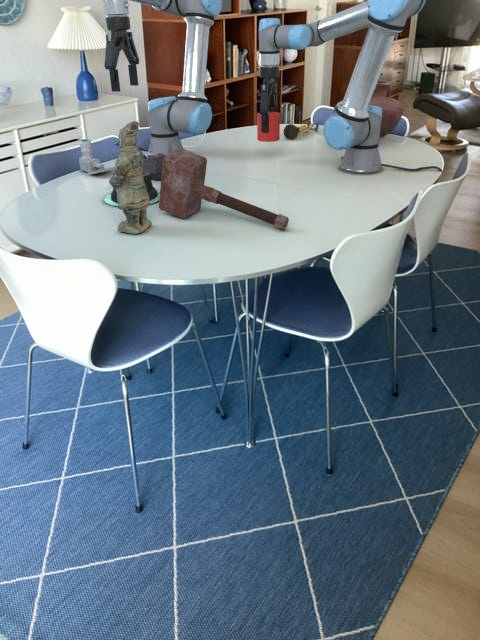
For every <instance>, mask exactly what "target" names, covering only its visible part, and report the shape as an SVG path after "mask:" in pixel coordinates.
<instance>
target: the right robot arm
mask: <svg viewBox="0 0 480 640" xmlns="http://www.w3.org/2000/svg"><path fill="white" fill-rule="evenodd" d="M426 2H427V0H366V1H363V2H361V3H358V4H356V5H353V6H352V7H348V8H346V9H343V10H341V11H338V12H336V13H334V14H331V15H328V16H326V17H324V18H321V19H319V20H315V21H314V22H310V23H304V24H303V23H302V24H300V23H299V24H281V19H279V18H275V17H267V18H261V19H260V20H259V22H258V24H259V25H258V55H257V59H258V65H259V67H258V77H259V79H263V83H262V84H260V98H259V99H260V101H259V111H258V113H259V114H262V132H269V114H268V112H277V110H278V109H279V106H278V105H279V104H278V80H277V79H278V78H280V66H279V65H280V64H281V63H280V57H281V54H280V53H281V50H282V49H283V50H294V51H298V50H299V51H300V50H305V49H307V48H311V47H314V48H315V47H319V46H322V45H324V44H325V43H327V42H329V41H332V40H334V39H337V38H341V37H343V36H346V35H349V34H352V33H354V32H357V31H360V30H363V29H367V28H368V29H367V31H366V35H365V38H364V40H363V43H362V46H361V49H360V52H359V55H358V56H357V57H358V58H357V60H356V63H355V66H354V69H353V71H352V73H351V77H350V80H349V83H348V85H347V89H346V92H345V94H344V97H343V99H342V100H341V101H342V102H340V101H339V102H340V103H338V102H337V103H338V104H337V103H336V104H337V106H336V109H335V112H334V111H333V113H334V114H333V115H332V116H330V117H329V118H328V119H327V120H326V121H325V122H324V125H323V130H322V133H323V138H324V139H325V142H326V144H327V145H328V146H329V147H330V148H332V149H334V150H336V151H343V150H345V151H344V154H343V156H341V157H340V161H341V162H340V170H341V171H343V172H345V173H349V174H355V175H356V174H357V175H369V174H370V175H371V174H376V173H378V172H380V171H382V167H385V168H391V169H396V170H402V171H408V172H416V171H420V170H421V171H422V170H429V169H436V170H437V171H439V172H443V170H442V168H441V167H439V166H435V165H430V166H420V167H417V168H409V167H408V168H407V167H402V166H397V165H391V164H386V163H382V161H381V155H380V150H379V147H380V145H379V144H380V138H379V137H380V128H381V119H382V109H381V108H380V107H378V106H371V105H369V102H370V99H371V97H372V94H373V92H374V89H375V86H376V84H377V81H378V80H380V79H379V78H380V76H381V74H382V71H383V69H384V66H385V63H386V60H387V58H388V55H389V53H390V50H391V47H392V45H393V42H394V41H395V37H396V35H398V34H400V33H402V32H403V30H404V27H405V26H406V24H407V20H408V19H409V18H413V17H415V16H416V15H417V14H419V13H420V12H421V10H422V9H423V8H424V6H425V4H426Z"/></svg>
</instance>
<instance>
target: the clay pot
mask: <svg viewBox="0 0 480 640" xmlns="http://www.w3.org/2000/svg"><path fill="white" fill-rule="evenodd" d="M390 86H392V82H391V81H388V80H384V79H378V81H377V84H376V86H375V89H374V92H373V94H372V97H371V99H370V102H369V105H371V106H378V107H380V108H381V109H382V119H381V128H380V137H379V139H381V138H383V137H386V136H388V135H389V134H390V133H392V132H393V131H394V130H395V128H396V127H397V126H398V124H399V123H400V121H401V119H402V116H403V114H404V106H403V104H402V102H401V101H400V100H398V99H395V98H393V97H387V94H388V90H389V87H390ZM342 101H343V100H340V101H338V102H337V103H336V104H335V105H334V107H333V115H334V112H335V109H336V106H337V104H338V103H340V102H342Z"/></svg>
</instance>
